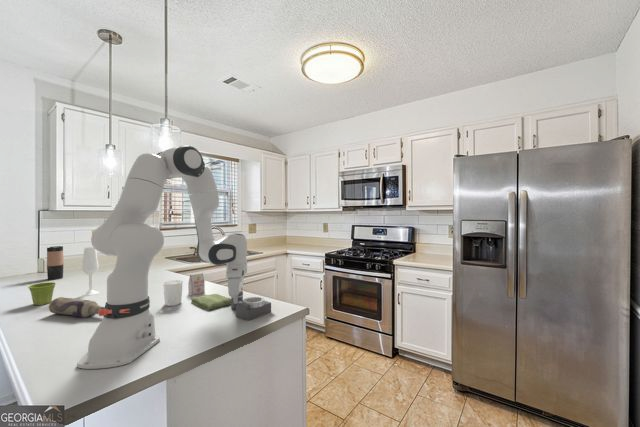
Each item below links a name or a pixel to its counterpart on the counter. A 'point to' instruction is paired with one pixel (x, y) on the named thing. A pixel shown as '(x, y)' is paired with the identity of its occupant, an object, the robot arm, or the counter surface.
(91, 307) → the decorative bottle
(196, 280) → the white food carton
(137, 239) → the robot arm
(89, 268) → the champagne flute
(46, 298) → the plant pot
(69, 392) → the counter surface
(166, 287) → the white cup
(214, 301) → the washcloth
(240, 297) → the lens
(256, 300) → the camera body
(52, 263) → the travel mug
